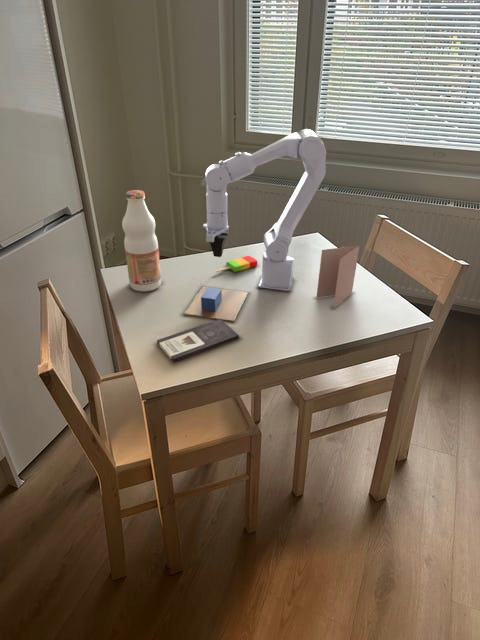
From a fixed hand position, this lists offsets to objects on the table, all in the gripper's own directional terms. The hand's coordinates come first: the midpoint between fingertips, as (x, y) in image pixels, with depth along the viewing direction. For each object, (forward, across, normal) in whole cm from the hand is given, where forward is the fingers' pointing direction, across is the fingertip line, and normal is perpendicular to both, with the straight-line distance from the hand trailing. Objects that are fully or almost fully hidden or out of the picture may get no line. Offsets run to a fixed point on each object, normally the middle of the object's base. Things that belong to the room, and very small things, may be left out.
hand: (217, 255), depth 133 cm
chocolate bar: (+9, +30, +4) cm, 32 cm away
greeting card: (+10, 0, +36) cm, 37 cm away
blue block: (+7, +10, +2) cm, 12 cm away
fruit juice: (+10, +6, -21) cm, 24 cm away
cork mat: (+9, +11, +3) cm, 15 cm away
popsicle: (+10, -12, +2) cm, 15 cm away
